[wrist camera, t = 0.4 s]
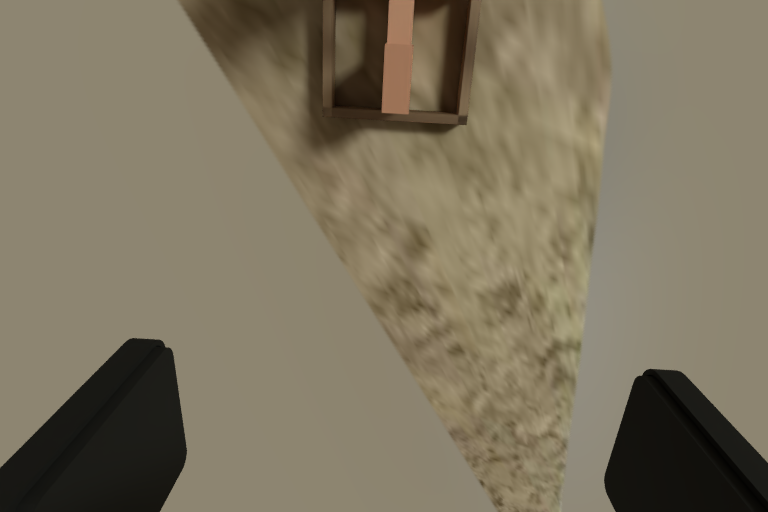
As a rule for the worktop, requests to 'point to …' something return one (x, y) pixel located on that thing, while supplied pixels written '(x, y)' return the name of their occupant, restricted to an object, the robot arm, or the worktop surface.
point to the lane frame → (413, 115)
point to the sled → (398, 58)
